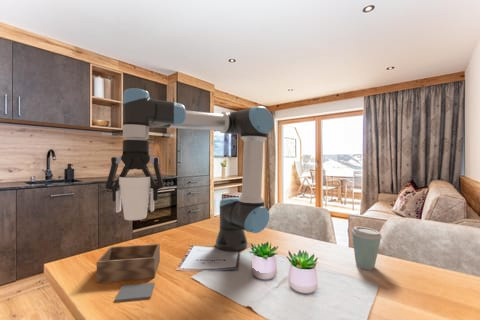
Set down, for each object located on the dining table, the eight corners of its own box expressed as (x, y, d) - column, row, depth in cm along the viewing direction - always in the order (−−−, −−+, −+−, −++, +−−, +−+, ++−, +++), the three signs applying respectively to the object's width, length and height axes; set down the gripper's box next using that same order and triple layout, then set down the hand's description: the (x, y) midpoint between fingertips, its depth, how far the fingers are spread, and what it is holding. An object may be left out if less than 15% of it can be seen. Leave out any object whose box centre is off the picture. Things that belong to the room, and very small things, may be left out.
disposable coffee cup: (366, 259, 101) (367, 224, 101) (388, 271, 90) (389, 232, 90) (345, 261, 98) (345, 225, 98) (364, 274, 88) (365, 234, 88)
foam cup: (139, 222, 69) (139, 178, 69) (111, 220, 71) (111, 177, 71) (157, 214, 78) (157, 175, 78) (132, 213, 80) (132, 174, 80)
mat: (154, 284, 80) (154, 282, 80) (150, 298, 72) (150, 296, 72) (122, 287, 78) (122, 285, 78) (114, 302, 70) (114, 299, 70)
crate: (159, 260, 97) (159, 244, 97) (154, 277, 84) (154, 258, 84) (110, 264, 93) (110, 246, 93) (96, 282, 80) (96, 262, 80)
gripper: (173, 141, 80) (172, 207, 80) (102, 139, 76) (102, 209, 76) (171, 139, 73) (170, 212, 73) (92, 137, 69) (92, 215, 69)
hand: (135, 211), depth 75 cm, fingers closed on foam cup, 9 cm apart
